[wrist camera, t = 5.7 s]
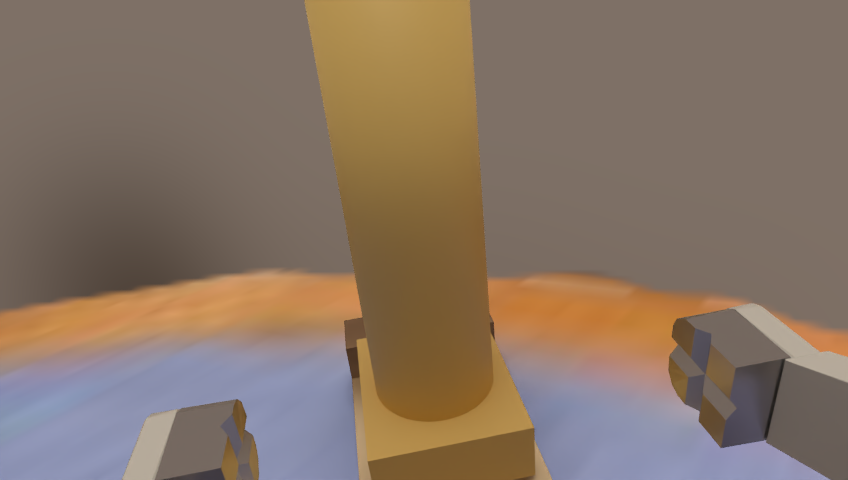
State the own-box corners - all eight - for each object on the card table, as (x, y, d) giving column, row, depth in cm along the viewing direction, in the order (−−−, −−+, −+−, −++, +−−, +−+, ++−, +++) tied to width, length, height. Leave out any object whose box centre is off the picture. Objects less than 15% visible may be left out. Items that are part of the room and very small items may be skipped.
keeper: (535, 474, 18) (521, -125, 11) (377, 508, 17) (251, -97, 10) (486, 357, 23) (455, -97, 16) (364, 380, 23) (275, -77, 16)
